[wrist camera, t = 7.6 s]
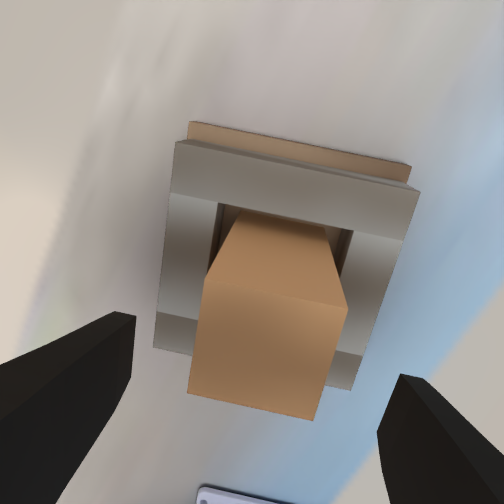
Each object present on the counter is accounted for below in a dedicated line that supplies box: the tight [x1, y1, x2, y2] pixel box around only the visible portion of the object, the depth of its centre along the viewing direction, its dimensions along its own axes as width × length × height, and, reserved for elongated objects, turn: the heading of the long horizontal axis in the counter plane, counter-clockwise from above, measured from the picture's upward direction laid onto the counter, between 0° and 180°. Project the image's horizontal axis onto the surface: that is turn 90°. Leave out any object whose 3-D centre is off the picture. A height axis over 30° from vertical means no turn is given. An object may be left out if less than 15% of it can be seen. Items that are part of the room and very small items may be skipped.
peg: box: [187, 210, 348, 421], centre depth 15 cm, size 4×4×8 cm
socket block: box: [153, 121, 420, 391], centre depth 18 cm, size 11×10×4 cm
